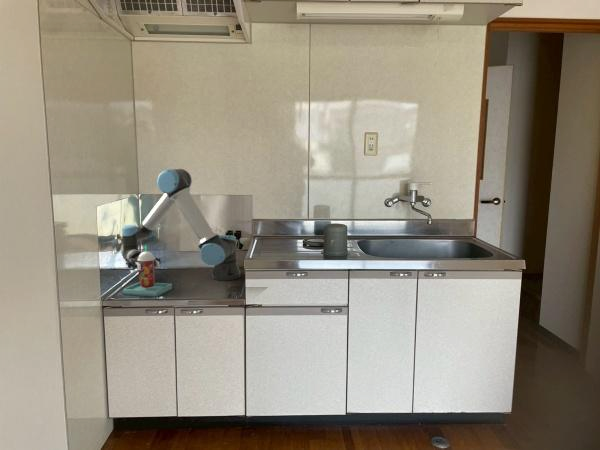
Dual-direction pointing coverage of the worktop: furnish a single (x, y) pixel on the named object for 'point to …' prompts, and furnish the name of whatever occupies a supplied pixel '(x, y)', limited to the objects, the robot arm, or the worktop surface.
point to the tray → (147, 289)
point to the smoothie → (147, 269)
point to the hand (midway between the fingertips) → (149, 266)
